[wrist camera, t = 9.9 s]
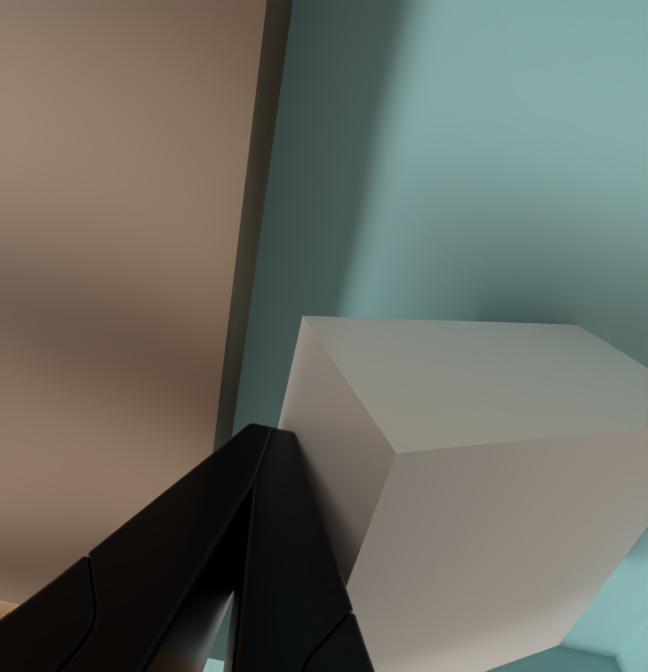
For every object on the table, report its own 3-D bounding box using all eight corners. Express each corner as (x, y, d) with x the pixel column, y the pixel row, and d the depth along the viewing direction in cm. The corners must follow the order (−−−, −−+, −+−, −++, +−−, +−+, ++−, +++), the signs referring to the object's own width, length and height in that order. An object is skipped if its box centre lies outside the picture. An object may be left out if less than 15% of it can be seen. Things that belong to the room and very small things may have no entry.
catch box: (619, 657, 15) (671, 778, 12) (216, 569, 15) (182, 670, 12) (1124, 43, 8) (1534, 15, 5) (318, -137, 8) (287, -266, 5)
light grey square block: (472, 528, 12) (558, 645, 10) (245, 572, 10) (288, 741, 8) (578, 324, 10) (728, 418, 7) (302, 315, 7) (396, 453, 5)
